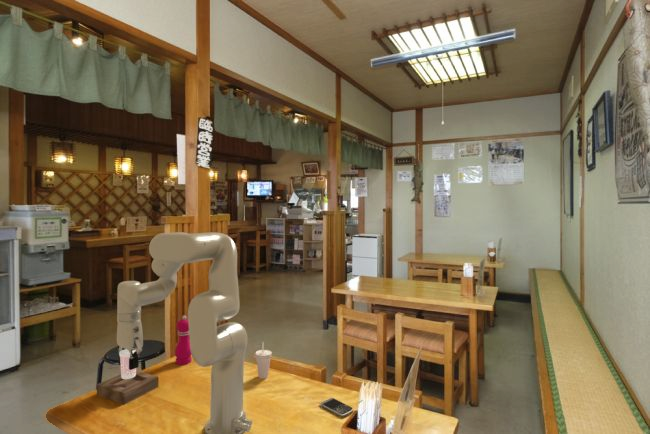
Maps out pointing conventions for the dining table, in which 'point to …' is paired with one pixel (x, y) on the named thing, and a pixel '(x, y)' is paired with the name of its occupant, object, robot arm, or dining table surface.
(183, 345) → the pepper mill
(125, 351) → the beverage cup
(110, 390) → the walnut tray
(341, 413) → the cell phone
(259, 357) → the smoothie
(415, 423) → the dining table surface
